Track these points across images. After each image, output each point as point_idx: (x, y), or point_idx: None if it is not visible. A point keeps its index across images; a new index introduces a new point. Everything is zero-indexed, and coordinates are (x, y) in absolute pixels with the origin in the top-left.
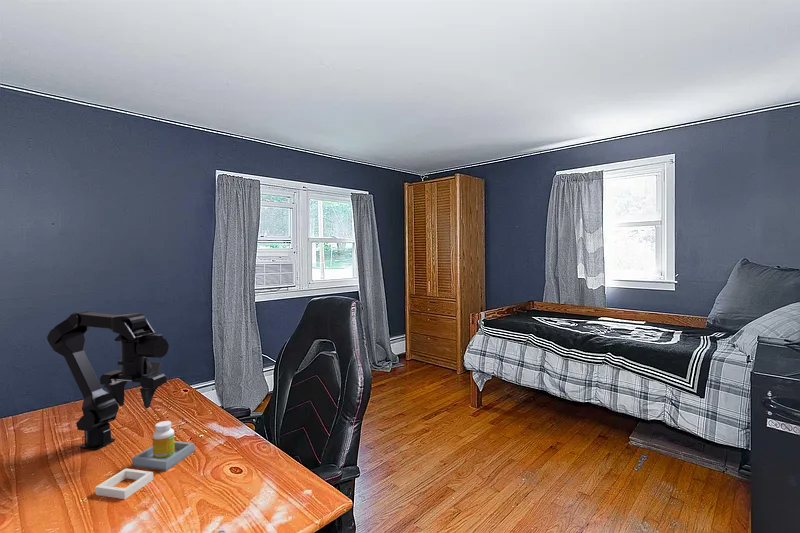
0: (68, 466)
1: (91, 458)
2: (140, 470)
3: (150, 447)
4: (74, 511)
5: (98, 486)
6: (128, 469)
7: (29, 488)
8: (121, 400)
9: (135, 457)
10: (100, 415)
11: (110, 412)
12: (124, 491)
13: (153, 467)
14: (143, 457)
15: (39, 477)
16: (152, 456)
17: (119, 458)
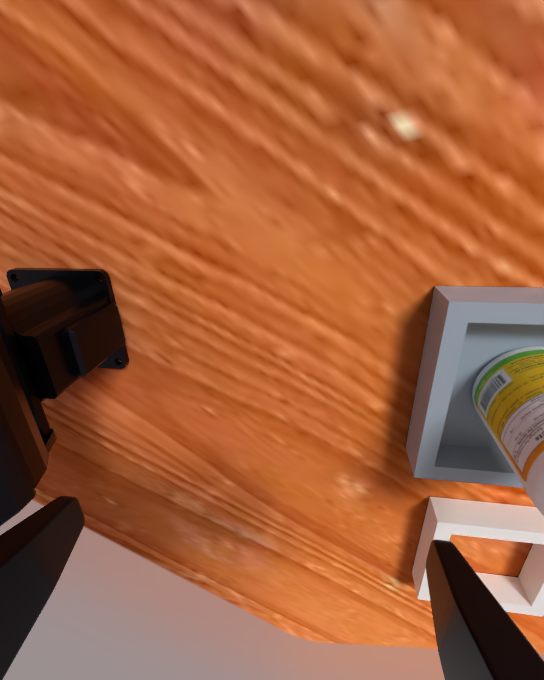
0: (161, 464)
1: (179, 415)
2: (516, 531)
3: (436, 393)
4: (414, 616)
5: (426, 598)
6: (456, 527)
7: (188, 551)
8: (34, 575)
9: (428, 475)
10: (25, 499)
11: (4, 424)
12: (542, 616)
13: None
14: (469, 472)
15: (150, 514)
16: (454, 392)
17: (291, 403)
